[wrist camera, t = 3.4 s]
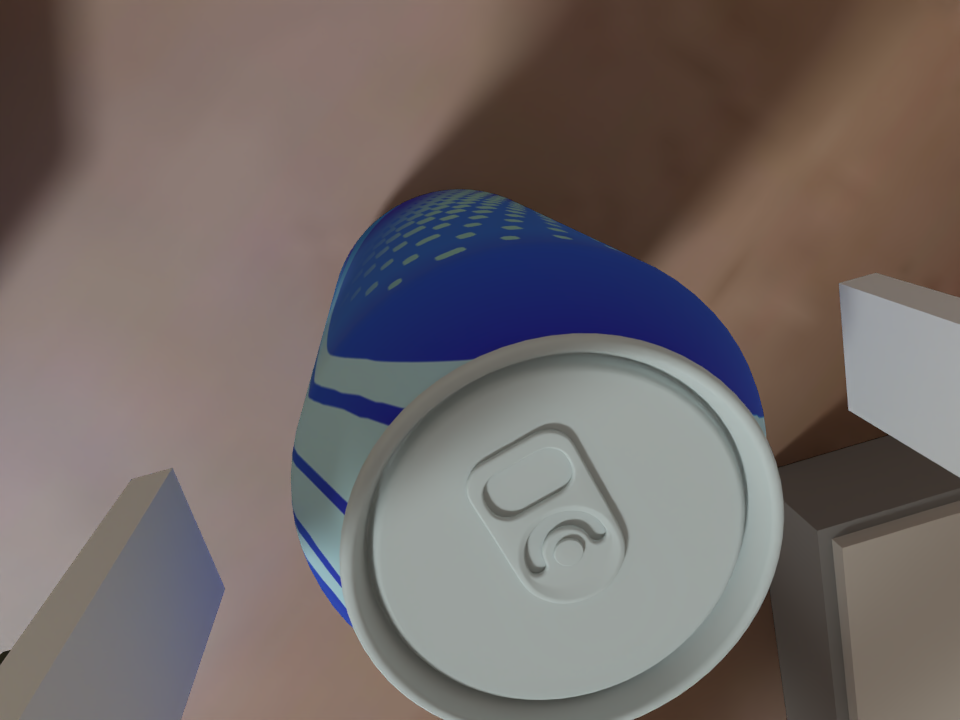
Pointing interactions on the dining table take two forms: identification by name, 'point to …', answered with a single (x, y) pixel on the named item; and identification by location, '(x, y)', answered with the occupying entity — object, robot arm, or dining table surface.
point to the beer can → (531, 468)
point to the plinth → (869, 586)
